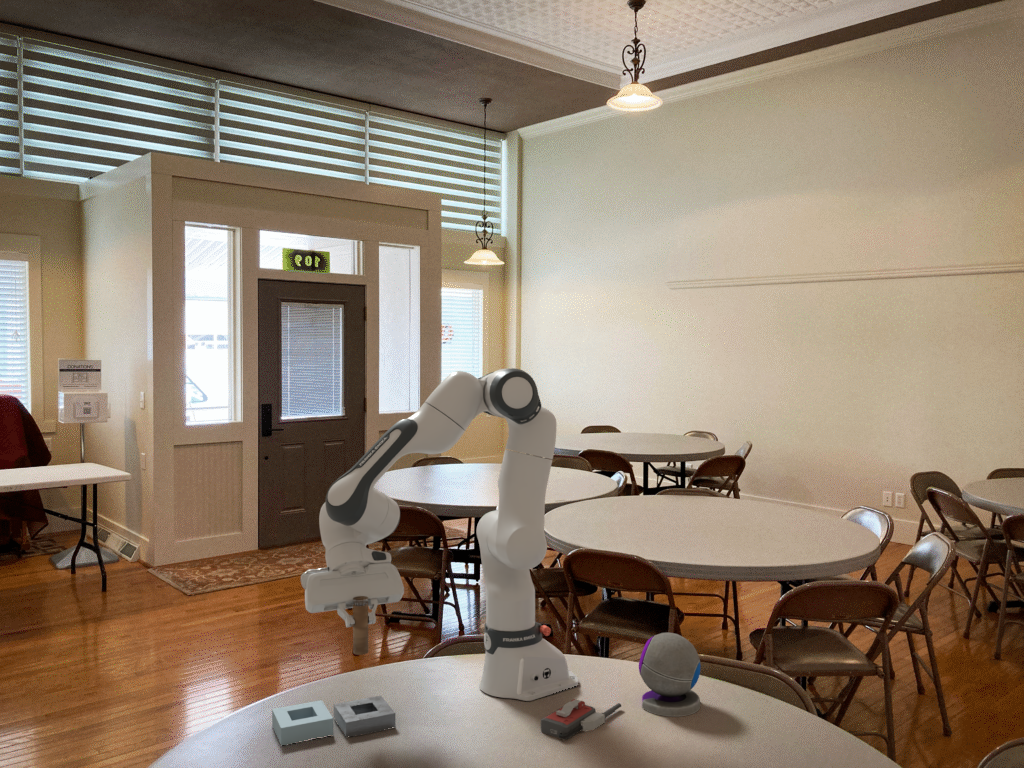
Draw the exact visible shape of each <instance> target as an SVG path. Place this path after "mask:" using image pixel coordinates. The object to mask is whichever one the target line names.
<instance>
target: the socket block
mask: <svg viewBox="0 0 1024 768" xmlns="http://www.w3.org/2000/svg"><path fill="white" fill-rule="evenodd" d="M334 718H335V720H336V721H337V723H338V724H339V726H340V728H341V729H342V731H343V732H344V734H345V735H344V734H343V735H344V737H345V736H346V737H348V736H353V737H356V736H355V735H358V736H362V735H361V734H363V735H368V734H372V733H371V732H373V733H376V732H375V731H378V732H381V731H380V730H383V731H385V730H384V729H388V728H392V727H397V726H396V712H395V711H394V709H393V708H392V707H391V706H390V705H389V703H388V702H387V701H386V700H385V699H384V697H383V696H382V695H377V696H371V697H365V698H359V699H354V700H350V701H343V702H339V703H334V704H333V719H334ZM335 720H334V721H335ZM336 721H335V722H336ZM337 723H336V724H337ZM338 724H337V725H338ZM339 726H338V727H339ZM340 728H339V729H340ZM341 729H340V730H341ZM388 730H389V729H388ZM342 731H341V732H342ZM343 732H342V733H343ZM367 733H368V734H367ZM346 737H345V738H346Z"/></svg>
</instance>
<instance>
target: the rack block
mask: <svg viewBox="0 0 1024 768" xmlns="http://www.w3.org/2000/svg"><path fill="white" fill-rule="evenodd" d="M271 723H272V725H271V726H273V727H272V728H274V729H273V731H274V733H275V736H276V735H277V736H276V738H277V737H278V738H277V740H278V739H279V740H278V742H279V744H281V745H286V746H288V745H287V744H291V743H295V742H299V741H304V740H308V739H311V738H317V737H324V736H328V735H333V736H334V716H332V714H331V713H330V710H329V709H328V708H327V706H326V705H325V703H324V701H323V700H322V699H321V700H319V699H318V700H314V701H309V702H304V703H300V704H299V703H298V704H293V705H287V706H281V707H276V708H275V707H274V708H271ZM281 745H280V746H281ZM291 745H292V744H291Z"/></svg>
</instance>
